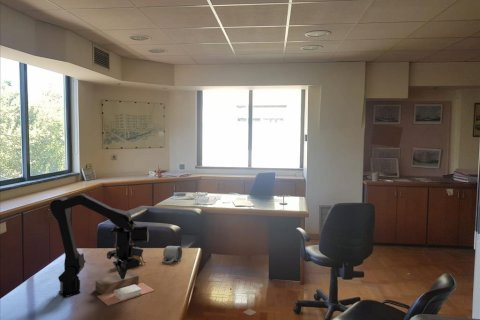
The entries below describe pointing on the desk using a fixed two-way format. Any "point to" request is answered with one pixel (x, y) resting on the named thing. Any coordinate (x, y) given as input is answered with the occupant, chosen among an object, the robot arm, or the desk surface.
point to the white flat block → (127, 292)
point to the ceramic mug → (172, 254)
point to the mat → (112, 299)
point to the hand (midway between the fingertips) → (122, 278)
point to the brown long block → (116, 282)
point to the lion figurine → (138, 259)
